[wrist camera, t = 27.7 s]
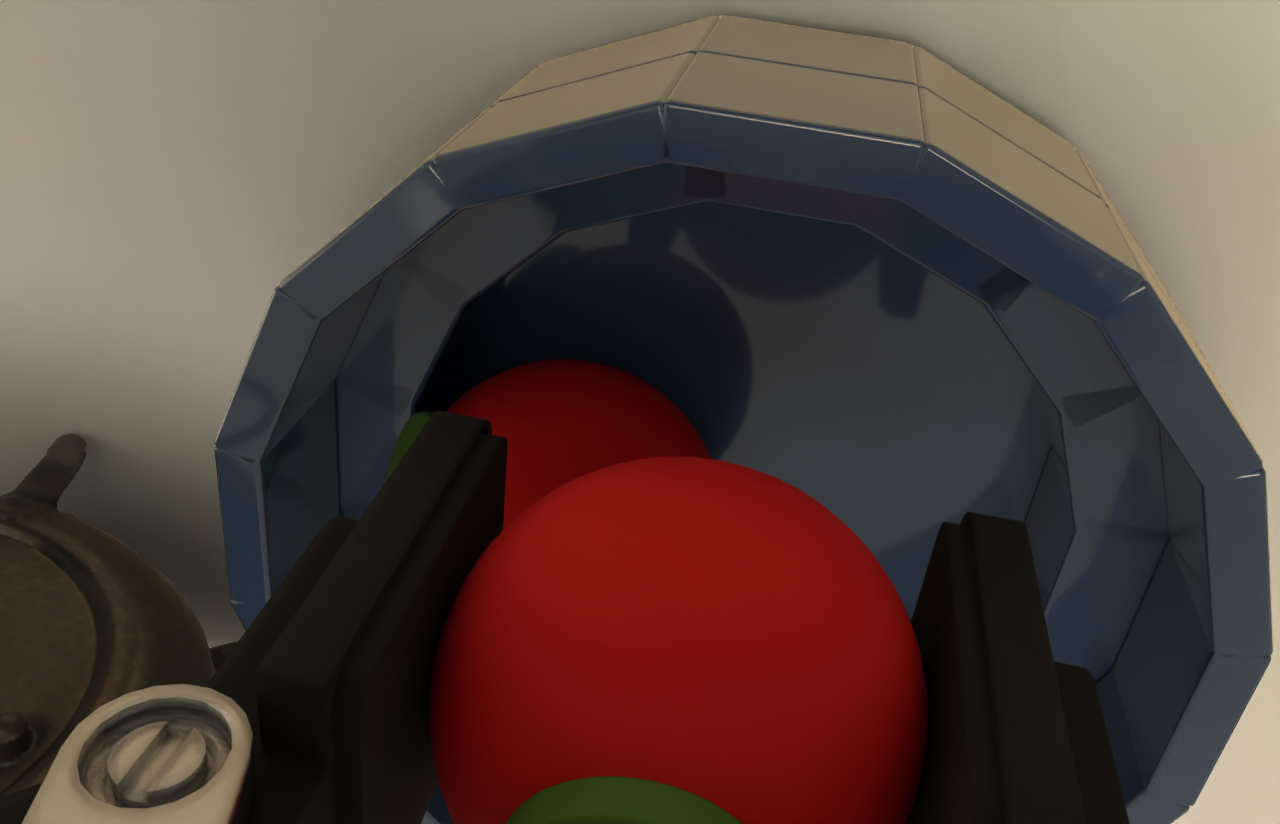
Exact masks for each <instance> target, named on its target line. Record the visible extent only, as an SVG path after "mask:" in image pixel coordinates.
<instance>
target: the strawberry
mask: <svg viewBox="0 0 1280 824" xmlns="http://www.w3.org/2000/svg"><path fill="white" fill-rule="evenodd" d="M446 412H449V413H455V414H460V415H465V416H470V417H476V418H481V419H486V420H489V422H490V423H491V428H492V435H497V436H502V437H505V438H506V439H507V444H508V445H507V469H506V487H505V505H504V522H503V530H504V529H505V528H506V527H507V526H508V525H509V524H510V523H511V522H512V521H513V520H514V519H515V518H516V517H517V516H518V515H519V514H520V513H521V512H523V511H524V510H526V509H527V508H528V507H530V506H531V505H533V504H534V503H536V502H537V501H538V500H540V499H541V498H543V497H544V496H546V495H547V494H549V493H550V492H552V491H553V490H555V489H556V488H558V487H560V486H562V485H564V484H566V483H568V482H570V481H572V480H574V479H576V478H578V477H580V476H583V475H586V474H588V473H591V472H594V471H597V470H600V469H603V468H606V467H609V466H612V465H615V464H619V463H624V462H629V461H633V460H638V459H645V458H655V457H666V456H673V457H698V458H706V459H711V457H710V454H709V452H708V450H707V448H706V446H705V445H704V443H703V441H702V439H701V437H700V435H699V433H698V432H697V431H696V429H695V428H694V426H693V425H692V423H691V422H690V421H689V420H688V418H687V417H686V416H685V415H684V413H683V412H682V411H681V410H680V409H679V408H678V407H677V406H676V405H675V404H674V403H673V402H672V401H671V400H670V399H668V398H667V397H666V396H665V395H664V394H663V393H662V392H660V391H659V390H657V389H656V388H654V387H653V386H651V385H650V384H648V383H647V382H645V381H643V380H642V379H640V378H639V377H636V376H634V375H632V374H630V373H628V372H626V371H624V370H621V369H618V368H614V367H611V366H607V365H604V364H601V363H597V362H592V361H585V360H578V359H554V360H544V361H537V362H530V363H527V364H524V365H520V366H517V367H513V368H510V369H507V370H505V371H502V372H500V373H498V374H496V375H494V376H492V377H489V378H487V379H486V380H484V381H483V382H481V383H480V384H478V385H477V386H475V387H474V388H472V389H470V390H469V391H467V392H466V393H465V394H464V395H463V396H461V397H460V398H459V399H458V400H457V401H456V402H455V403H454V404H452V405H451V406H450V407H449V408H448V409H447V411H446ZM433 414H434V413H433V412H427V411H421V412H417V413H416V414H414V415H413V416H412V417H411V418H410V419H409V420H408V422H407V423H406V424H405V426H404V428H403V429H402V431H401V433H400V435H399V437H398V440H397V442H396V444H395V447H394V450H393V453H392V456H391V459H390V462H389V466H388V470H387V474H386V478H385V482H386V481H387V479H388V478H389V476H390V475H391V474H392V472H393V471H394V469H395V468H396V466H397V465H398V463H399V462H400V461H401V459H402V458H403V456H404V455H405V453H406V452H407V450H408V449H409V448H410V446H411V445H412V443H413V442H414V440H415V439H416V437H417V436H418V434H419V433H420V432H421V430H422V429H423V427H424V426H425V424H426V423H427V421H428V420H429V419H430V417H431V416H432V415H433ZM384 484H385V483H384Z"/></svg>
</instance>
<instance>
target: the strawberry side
mask: <svg viewBox="0 0 1280 824" xmlns="http://www.w3.org/2000/svg"><path fill="white" fill-rule="evenodd" d="M429 722H430V736H431V745H432V752H433V758H434V764H435V769H436V773H437V777H438V781H439V786H440V789H441V792H442V794H443V797H444V800H445V803H446V805H447V808H448V811H449V813H450V816H451V818H452V821H453V823H454V824H905V823H906V820H907V818H908V816H909V813H910V811H911V809H912V806H913V804H914V802H915V798H916V794H917V790H918V786H919V782H920V778H921V773H922V769H923V765H924V759H925V752H926V745H927V726H928V698H927V690H926V682H925V675H924V668H923V662H922V656H921V652H920V649H919V646H918V643H917V639H916V636H915V633H914V630H913V627H912V624H911V622H910V619H909V616H908V613H907V611H906V609H905V607H904V605H903V603H902V601H901V598H900V596H899V594H898V592H897V590H896V588H895V586H894V585H893V583H892V582H891V580H890V579H889V577H888V576H887V574H886V572H885V571H884V569H883V568H882V567H881V565H880V564H879V562H878V561H877V559H876V558H875V556H874V555H873V554H872V552H871V551H870V549H869V548H868V547H867V546H866V545H865V544H864V543H863V542H862V541H861V540H860V538H859V537H858V536H857V535H856V534H855V533H854V532H853V531H852V530H851V529H850V528H849V527H848V526H847V525H846V524H845V523H843V522H842V521H841V520H840V519H839V518H838V517H836V516H835V515H834V514H833V513H832V512H831V511H829V510H828V509H827V508H826V507H825V506H823V505H822V504H821V503H819V502H818V501H816V500H815V499H813V498H812V497H810V496H809V495H807V494H806V493H804V492H803V491H801V490H800V489H798V488H796V487H794V486H792V485H790V484H788V483H786V482H784V481H782V480H780V479H778V478H776V477H774V476H771V475H768V474H765V473H763V472H760V471H757V470H755V469H752V468H749V467H745V466H741V465H737V464H733V463H729V462H725V461H721V460H713V459H706V458H698V457H673V456H666V457H655V458H645V459H638V460H633V461H629V462H624V463H619V464H615V465H612V466H609V467H606V468H603V469H600V470H597V471H594V472H591V473H588V474H586V475H583V476H580V477H578V478H576V479H574V480H572V481H570V482H568V483H566V484H564V485H562V486H560V487H558V488H556V489H555V490H553V491H552V492H550V493H549V494H547V495H546V496H544V497H543V498H541V499H540V500H538V501H537V502H536V503H534V504H533V505H531V506H530V507H528V508H527V509H526V510H524V511H523V512H521V513H520V514H519V515H518V516H517V517H516V518H515V519H514V520H513V521H512V522H511V523H510V524H509V525H508V526H507V527H506V528H505V529H504V530H503V531H502V532H501V533H500V534H499V535H498V536H497V537H496V538H495V539H494V540H493V541H492V542H491V543H490V544H489V546H488V547H487V548H486V550H485V551H484V552H483V554H482V555H481V557H480V558H479V559H478V561H477V562H476V563H475V565H474V566H473V568H472V569H471V571H470V573H469V574H468V576H467V577H466V579H465V580H464V582H463V584H462V586H461V588H460V590H459V592H458V594H457V596H456V598H455V600H454V602H453V604H452V606H451V609H450V611H449V614H448V616H447V619H446V621H445V624H444V626H443V630H442V633H441V637H440V641H439V645H438V649H437V653H436V657H435V661H434V666H433V671H432V679H431V689H430V713H429Z"/></svg>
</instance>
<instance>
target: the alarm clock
mask: <svg viewBox="0 0 1280 824" xmlns="http://www.w3.org/2000/svg"><path fill="white" fill-rule="evenodd" d="M85 448H86V442H85V440H84V439H83V438H81V437H80V436H78V435H76V434H72V433H71V434H66V435H62V436H61V437H59V438H57V439H56V440H55V442H54V443H53V444H52V445H51V446H50V447H49V448H48V451H47V453H46V455H45V456H44V457H43V459H42V460H41V461H40V462H39V463H38V464H37V466H36V467H35V468H34V469H33V470H32V471H31V472H30V473H29V474H28V475H27V476H26V477H25V479H24V480H23V481H22V482H21V483H20V484H19V486H18V487H17V488H16V489H15V490H13V491H12V492H10V493H8V494H5V495H3V496H0V797H3V796H5V795H8V794H11V793H14V792H17V791H20V790H22V789H25V788H28V787H31V786H34V785H36V784H39V783H42V782H43V781H44V779H45V777H46V776H47V774H48V772H49V770H50V768H51V766H52V764H53V762H54V760H55V758H56V756H57V754H58V752H59V750H60V748H61V746H62V745H63V744H64V742H65V741H66V740H67V738H68V737H69V736H70V734H71V733H72V731H73V730H74V729H75V727H76V726H77V725H78V724H79V723H80V722H82V721H83V720H84V719H85V718H87V717H88V716H89V715H90V714H92V713H93V712H94V711H95V710H97V709H98V708H99V707H101V706H103V705H105V704H107V703H109V702H111V701H113V700H115V699H117V698H119V697H121V696H123V695H125V694H127V693H131V692H134V691H138V690H142V689H146V688H149V687H153V686H160V685H175V684H188V685H194V686H200V687H206V685H207V684H208V683H209V681H210V680H211V678H212V677H213V676H214V674H215V673H216V672H217V670H218V669H219V668H220V666H221V665H222V663H223V662H224V661H225V659H226V658H227V657H228V655H229V654H230V653H231V651H232V650H233V648H234V647H235V646H236V644H237V643H238V642H239V641H238V642H233V643H229V644H224V645H221V646H217V647H213V648H210V649H209V647H208V643H207V640H206V636H205V634H204V632H203V630H202V628H201V626H200V624H199V622H198V620H197V618H196V616H195V614H194V612H193V611H192V609H191V607H190V606H189V604H188V603H187V602H186V600H185V599H184V598H183V596H182V595H181V594H180V592H179V591H178V590H177V588H176V587H175V586H174V585H173V584H172V583H171V582H170V581H169V580H168V579H167V578H166V576H165V575H163V574H162V573H161V572H160V571H159V570H158V569H157V568H156V567H155V566H154V565H153V564H152V563H150V562H149V561H148V560H147V559H145V558H144V557H143V556H142V555H140V554H139V553H138V552H136V551H135V550H133V549H132V548H131V547H129V546H128V545H126V544H125V543H123V542H122V541H120V540H118V539H117V538H115V537H113V536H111V535H110V534H108V533H106V532H104V531H103V530H101V529H99V528H96V527H94V526H92V525H90V524H88V523H86V522H83V521H81V520H79V519H77V518H75V517H73V516H70V515H67V514H64V513H61V512H60V511H58V510H57V502H58V500H59V498H60V496H61V494H62V493H63V491H64V489H65V488H66V487H67V486H68V484H69V483H70V482H71V481H72V480H73V478H74V477H75V475H76V473H77V472H78V470H79V469H80V467H81V466H82V464H83V462H84V459H85V456H86V452H85Z"/></svg>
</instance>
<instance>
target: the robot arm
mask: <svg viewBox="0 0 1280 824" xmlns="http://www.w3.org/2000/svg"><path fill="white" fill-rule="evenodd" d="M507 445H508V444H507V439H506V438H505V437H502V436H497V435H492V428H491V423H490V422H489V420H486V419H481V418H476V417H470V416H465V415H460V414H455V413H449V412H444V411H435V412H434V414H433V415H432V416H431V417H430V419H429V420H428V421H427V423H426V424H425V426H424V427H423V429H422V430H421V432H420V433H419V434H418V436H417V437H416V439H415V440H414V442H413V443H412V445H411V446H410V448H409V449H408V450H407V452H406V453H405V455H404V456H403V458H402V459H401V461H400V462H399V463H398V465H397V466H396V468H395V469H394V471H393V472H392V474H391V475H390V476H389V478H388V479H387V481H386V482H385V484H384V485H383V487H382V488H381V490H380V491H379V492H378V494H377V495H376V497H375V498H374V500H373V501H372V503H371V504H370V505H369V507H368V508H367V510H366V511H365V513H364V514H363V516H362V517H361V518H360V520H354V519H349V518H344V517H339V516H337V517H334V518H332V519H330V520H329V521H328V522H327V523H326V524H325V525H324V526H323V527H322V528H321V530H320V531H319V532H318V534H317V535H316V537H315V538H314V539H313V541H312V542H311V543H310V545H309V546H308V547H307V549H306V550H305V552H304V553H303V554H302V556H301V557H300V558H299V560H298V561H297V562H296V564H295V565H294V567H293V568H292V569H291V571H290V572H289V573H288V575H287V576H286V577H285V579H284V580H283V582H282V583H281V584H280V586H279V587H278V588H277V590H276V591H275V592H274V594H273V595H272V597H271V598H270V599H269V601H268V602H267V603H266V605H265V606H264V607H263V609H262V610H261V612H260V613H259V614H258V616H257V617H256V618H255V620H254V621H253V622H252V624H251V625H250V627H249V628H248V629H247V631H246V632H245V633H244V635H243V636H242V638H241V639H240V640H239V642H238V643H237V644H236V646H235V647H234V648H233V650H232V651H231V653H230V654H229V655H228V657H227V658H226V659H225V661H224V662H223V663H222V665H221V666H220V668H219V669H218V670H217V672H216V673H215V674H214V676H213V677H212V678H211V680H210V681H209V683H208V684H207V685H206V687H200V686H194V685H188V684H175V685H160V686H153V687H149V688H146V689H142V690H138V691H134V692H131V693H127V694H125V695H123V696H121V697H119V698H117V699H115V700H113V701H111V702H109V703H107V704H105V705H103V706H101V707H99V708H98V709H97V710H95V711H94V712H93V713H92V714H90V715H89V716H88V717H87V718H85V719H84V720H83V721H82V722H80V723H79V724H78V725H77V726H76V727H75V729H74V730H73V731H72V733H71V734H70V736H69V737H68V738H67V740H66V741H65V742H64V744H63V745H62V746H61V748H60V750H59V752H58V754H57V756H56V758H55V760H54V762H53V764H52V766H51V768H50V770H49V772H48V774H47V776H46V777H45V779H44V781H43V782H42V783H39V784H36V785H34V786H31V787H28V788H25V789H22V790H20V791H17V792H14V793H11V794H8V795H5V796H3V797H0V824H421V822H422V820H423V818H424V815H425V813H426V811H427V808H428V806H429V804H430V801H431V799H432V797H433V794H434V792H435V790H436V788H437V785H438V783H439V781H438V777H437V773H436V769H435V764H434V758H433V752H432V745H431V736H430V722H429V713H430V689H431V679H432V671H433V666H434V661H435V657H436V653H437V649H438V645H439V641H440V637H441V633H442V630H443V626H444V624H445V621H446V619H447V616H448V614H449V611H450V609H451V606H452V604H453V602H454V600H455V598H456V596H457V594H458V592H459V590H460V588H461V586H462V584H463V582H464V580H465V579H466V577H467V576H468V574H469V573H470V571H471V569H472V568H473V566H474V565H475V563H476V562H477V561H478V559H479V558H480V557H481V555H482V554H483V552H484V551H485V550H486V548H487V547H488V546H489V544H490V543H491V542H492V541H493V540H494V539H495V538H496V537H497V536H498V535H499V534H500V533H501V532H502V531H503V522H504V505H505V487H506V469H507ZM911 624H912V627H913V630H914V633H915V636H916V639H917V643H918V646H919V649H920V652H921V656H922V662H923V668H924V675H925V682H926V690H927V698H928V726H927V745H926V752H925V759H924V765H923V769H922V773H921V778H920V782H919V786H918V790H917V794H916V798H915V802H914V804H913V806H912V809H911V811H910V813H909V816H908V818H907V820H906V823H905V824H1130V823H1129V819H1128V815H1127V811H1126V807H1125V802H1124V798H1123V794H1122V790H1121V786H1120V782H1119V778H1118V774H1117V769H1116V765H1115V761H1114V757H1113V753H1112V749H1111V745H1110V741H1109V737H1108V732H1107V728H1106V724H1105V720H1104V716H1103V712H1102V708H1101V704H1100V699H1099V695H1098V691H1097V687H1096V684H1095V681H1094V679H1093V676H1092V673H1090V672H1089V671H1088V670H1087V669H1086V668H1084V667H1080V666H1075V665H1070V664H1065V663H1060V662H1055V661H1054V660H1053V655H1052V650H1051V645H1050V640H1049V635H1048V630H1047V625H1046V620H1045V615H1044V610H1043V605H1042V600H1041V595H1040V591H1039V586H1038V581H1037V576H1036V571H1035V566H1034V561H1033V556H1032V551H1031V546H1030V541H1029V536H1028V531H1027V528H1026V525H1025V523H1023V522H1021V521H1016V520H1010V519H1005V518H1000V517H995V516H989V515H984V514H979V513H974V512H967V513H965V515H964V517H963V518H962V520H961V523H960V524H955V523H950V522H945V521H944V522H943V523H942V525H941V527H940V529H939V532H938V534H937V538H936V541H935V544H934V548H933V551H932V554H931V557H930V561H929V564H928V567H927V571H926V574H925V577H924V580H923V584H922V587H921V590H920V593H919V597H918V600H917V603H916V607H915V610H914V613H913V616H912V620H911Z"/></svg>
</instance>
